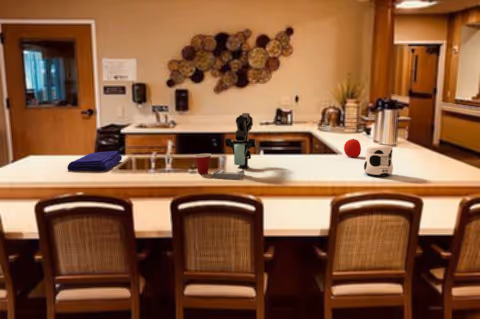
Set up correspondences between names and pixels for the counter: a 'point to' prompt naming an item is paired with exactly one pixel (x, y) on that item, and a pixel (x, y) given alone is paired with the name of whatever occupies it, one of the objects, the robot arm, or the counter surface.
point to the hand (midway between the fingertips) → (239, 153)
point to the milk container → (378, 160)
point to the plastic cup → (202, 162)
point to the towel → (96, 161)
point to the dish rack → (228, 174)
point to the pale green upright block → (239, 154)
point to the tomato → (352, 148)
